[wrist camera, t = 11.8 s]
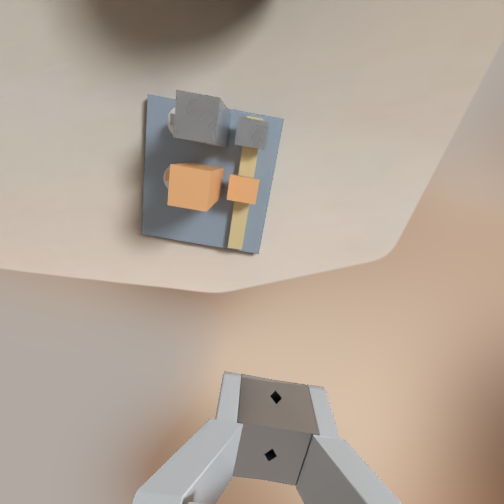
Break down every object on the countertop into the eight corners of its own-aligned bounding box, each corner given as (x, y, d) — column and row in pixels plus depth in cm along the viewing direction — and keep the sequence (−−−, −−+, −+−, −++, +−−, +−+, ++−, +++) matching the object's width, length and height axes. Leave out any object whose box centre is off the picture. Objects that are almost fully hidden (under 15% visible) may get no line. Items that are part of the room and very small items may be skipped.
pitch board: (144, 231, 41) (138, 235, 39) (151, 96, 36) (144, 92, 34) (258, 251, 42) (258, 256, 40) (283, 120, 36) (284, 117, 34)
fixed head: (175, 138, 36) (144, 132, 27) (177, 104, 35) (146, 84, 25) (263, 154, 36) (264, 153, 27) (269, 120, 35) (272, 107, 26)
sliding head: (170, 189, 38) (140, 200, 28) (173, 158, 37) (142, 159, 27) (255, 204, 38) (253, 219, 29) (260, 174, 37) (260, 179, 27)
